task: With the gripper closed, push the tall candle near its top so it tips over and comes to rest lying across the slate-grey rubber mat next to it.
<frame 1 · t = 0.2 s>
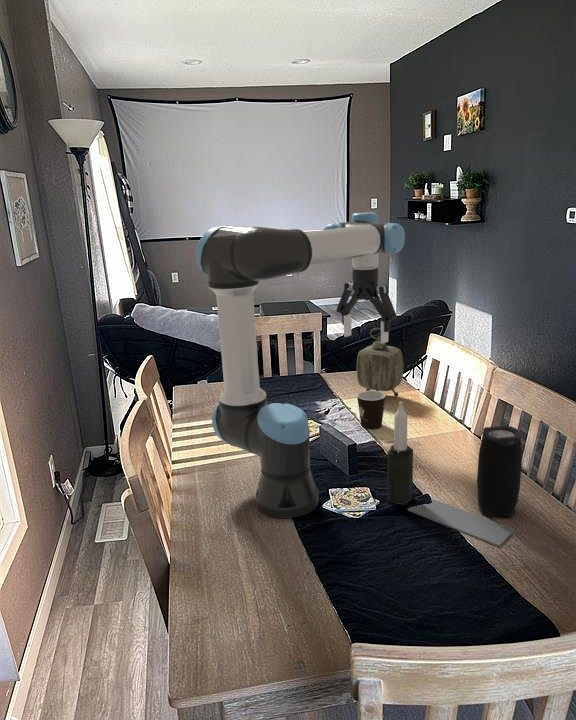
hand: (365, 339, 175), 28 cm above the table, tool pointing down, fingers open, 13 cm apart
tabletop clock: (378, 397, 207), on the table
portable speaker: (496, 511, 134), on the table
coffee mug: (370, 424, 185), on the table
candle: (400, 500, 140), on the table
candle mat: (459, 520, 130), on the table
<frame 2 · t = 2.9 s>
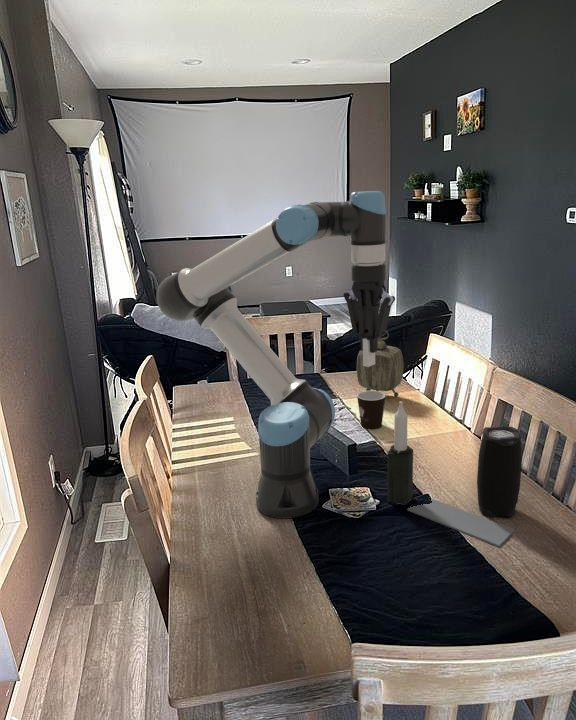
hand: (369, 364, 137), 32 cm above the table, tool pointing down, fingers closed
nothing on the table moved.
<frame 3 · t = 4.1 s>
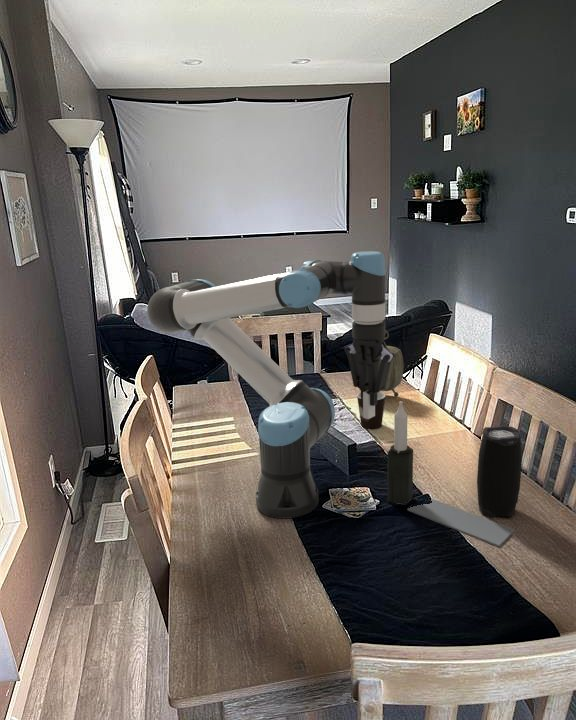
hand: (369, 416, 141), 19 cm above the table, tool pointing down, fingers closed
nothing on the table moved.
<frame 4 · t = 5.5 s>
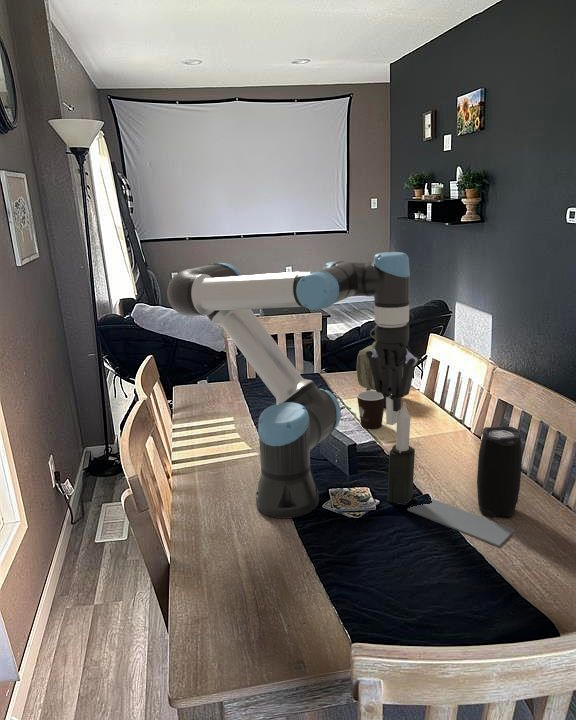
hand: (392, 422, 136), 19 cm above the table, tool pointing down, fingers closed
candle: (400, 499, 140), on the table, touching gripper
everything else where it was.
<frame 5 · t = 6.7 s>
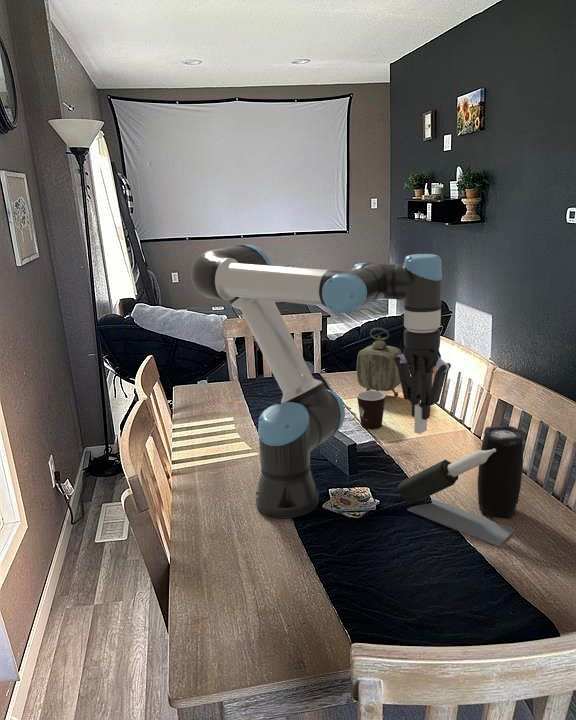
hand: (420, 431, 131), 19 cm above the table, tool pointing down, fingers closed
candle: (405, 493, 139), point 2 cm above the table
everything else where it was.
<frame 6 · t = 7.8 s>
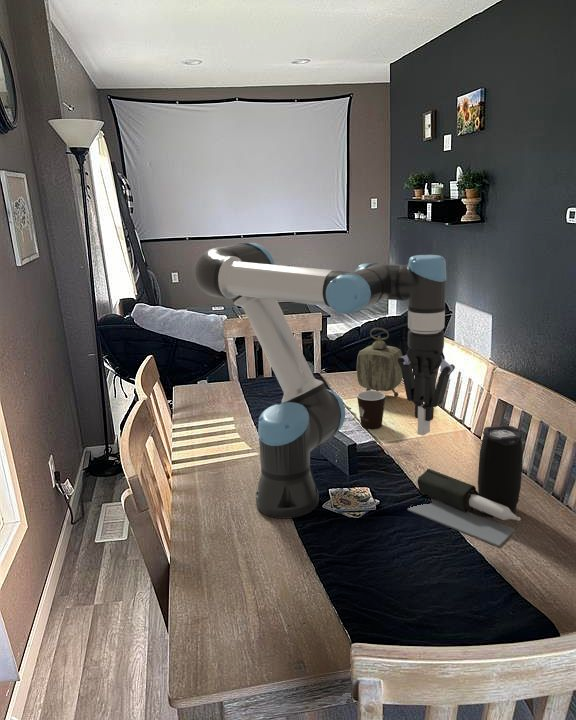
hand: (423, 432, 131), 19 cm above the table, tool pointing down, fingers closed
portable speaker: (497, 511, 134), on the table, touching candle
candle: (424, 480, 142), point 3 cm above the table, touching candle mat, portable speaker
everything else where it was.
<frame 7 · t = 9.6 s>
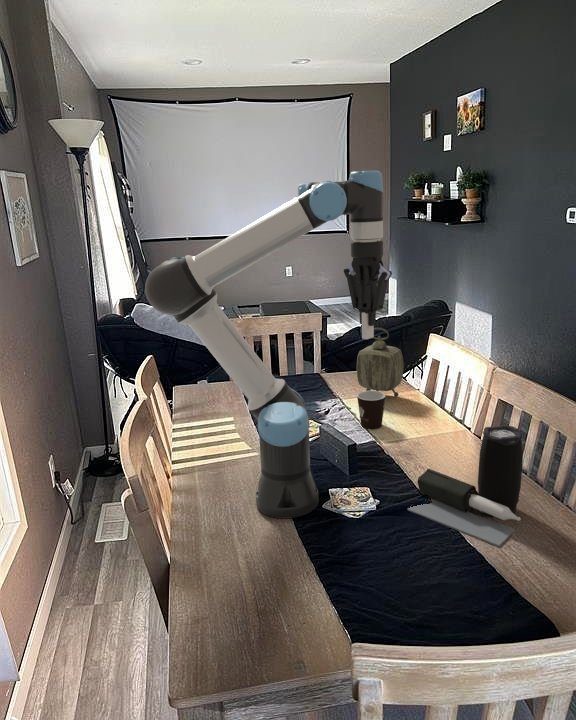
hand: (367, 337, 144), 36 cm above the table, tool pointing down, fingers closed
nothing on the table moved.
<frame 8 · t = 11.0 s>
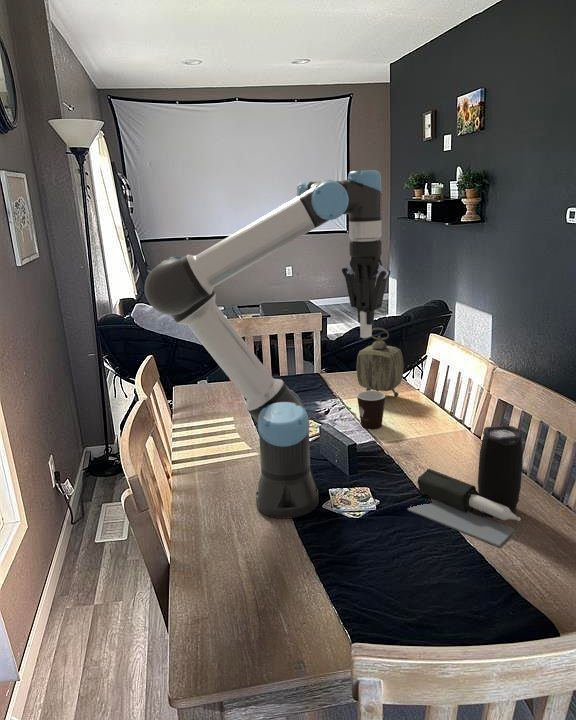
hand: (366, 336, 145), 36 cm above the table, tool pointing down, fingers closed
nothing on the table moved.
at the end: candle tilted 88°; candle touching candle mat, portable speaker, table; the gripper is holding nothing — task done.
